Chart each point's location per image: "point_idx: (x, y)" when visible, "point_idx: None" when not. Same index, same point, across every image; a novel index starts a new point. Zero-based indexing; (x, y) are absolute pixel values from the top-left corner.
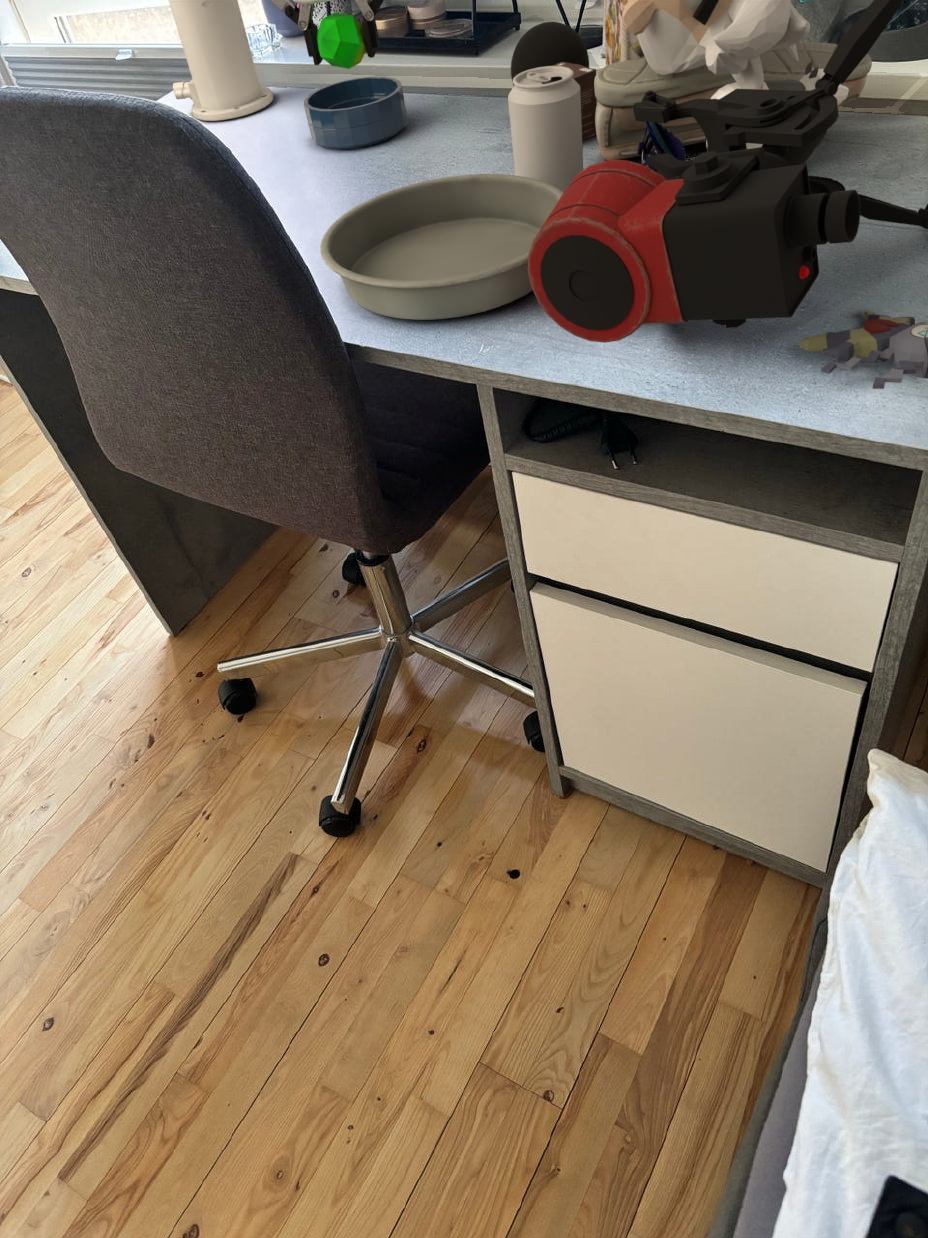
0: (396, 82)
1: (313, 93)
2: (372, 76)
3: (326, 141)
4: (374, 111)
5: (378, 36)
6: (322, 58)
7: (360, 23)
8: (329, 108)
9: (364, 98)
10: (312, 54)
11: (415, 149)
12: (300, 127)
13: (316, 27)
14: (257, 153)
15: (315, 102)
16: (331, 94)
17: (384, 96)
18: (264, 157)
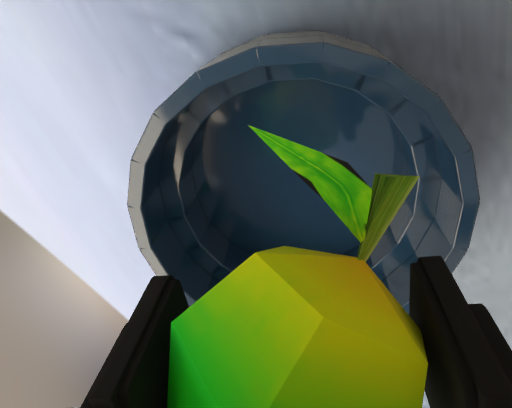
0: (454, 156)
1: (141, 199)
2: (326, 47)
3: None
4: None
5: (494, 322)
6: (186, 304)
7: (422, 399)
8: (186, 149)
9: (286, 79)
10: None
11: (463, 293)
12: (79, 91)
13: (137, 403)
14: (72, 246)
15: (152, 188)
16: (173, 120)
17: (366, 77)
18: (105, 269)
